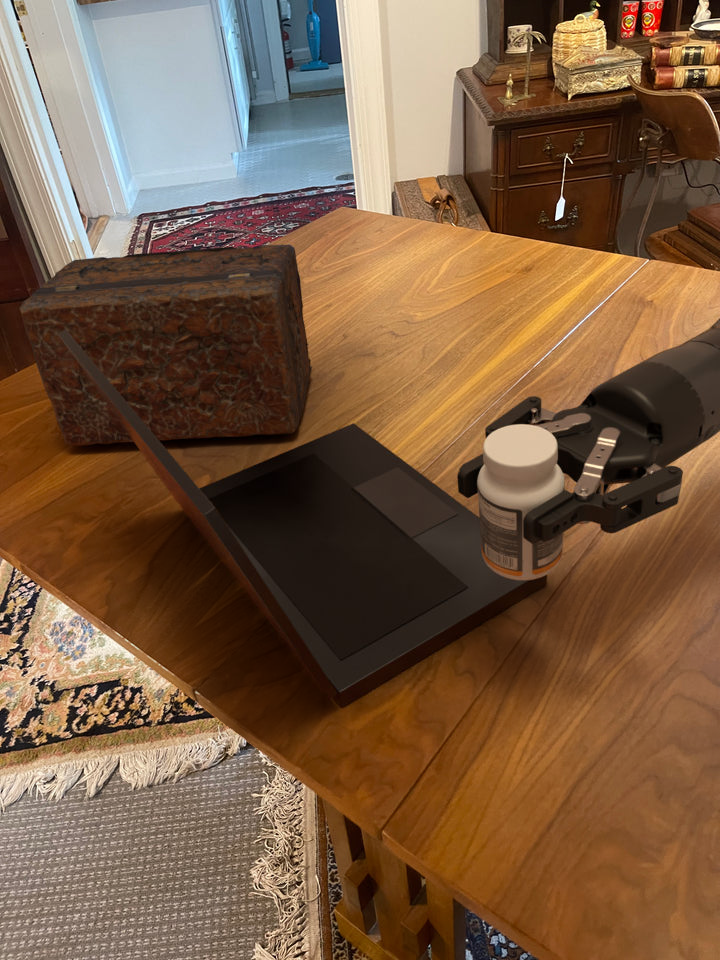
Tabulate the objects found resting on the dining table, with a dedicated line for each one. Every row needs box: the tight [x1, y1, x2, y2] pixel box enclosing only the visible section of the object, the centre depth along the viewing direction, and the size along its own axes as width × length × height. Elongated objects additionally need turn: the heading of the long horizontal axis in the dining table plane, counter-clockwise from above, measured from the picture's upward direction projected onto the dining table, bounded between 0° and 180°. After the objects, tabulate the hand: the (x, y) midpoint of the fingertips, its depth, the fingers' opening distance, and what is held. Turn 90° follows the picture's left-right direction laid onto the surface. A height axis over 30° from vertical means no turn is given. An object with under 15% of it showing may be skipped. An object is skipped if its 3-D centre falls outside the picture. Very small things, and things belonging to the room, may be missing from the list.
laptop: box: [198, 423, 548, 709], centre depth 72 cm, size 22×32×2 cm
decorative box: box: [19, 244, 313, 447], centre depth 91 cm, size 31×20×20 cm
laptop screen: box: [58, 330, 337, 700], centre depth 60 cm, size 22×32×1 cm
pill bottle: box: [477, 424, 566, 580], centre depth 50 cm, size 6×6×10 cm
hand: (493, 507), depth 48 cm, fingers closed on pill bottle, 5 cm apart
